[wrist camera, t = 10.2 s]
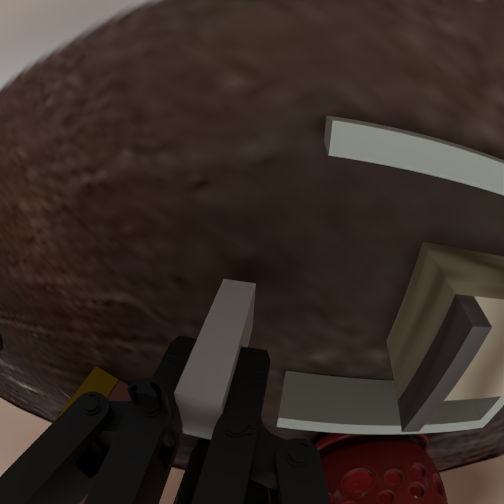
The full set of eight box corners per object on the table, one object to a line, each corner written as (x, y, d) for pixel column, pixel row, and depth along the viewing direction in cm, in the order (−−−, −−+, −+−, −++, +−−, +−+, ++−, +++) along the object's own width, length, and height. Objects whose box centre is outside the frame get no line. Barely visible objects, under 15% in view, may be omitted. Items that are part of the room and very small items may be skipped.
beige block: (385, 338, 18) (401, 432, 12) (421, 240, 15) (472, 326, 8) (489, 344, 17) (521, 418, 11) (531, 261, 13) (587, 329, 7)
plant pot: (438, 446, 23) (447, 541, 13) (326, 472, 28) (316, 561, 18) (431, 384, 19) (454, 526, 9) (279, 422, 24) (255, 548, 13)
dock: (283, 380, 21) (276, 426, 17) (326, 115, 13) (332, 120, 9) (471, 389, 19) (483, 427, 15) (567, 188, 10) (606, 213, 7)
